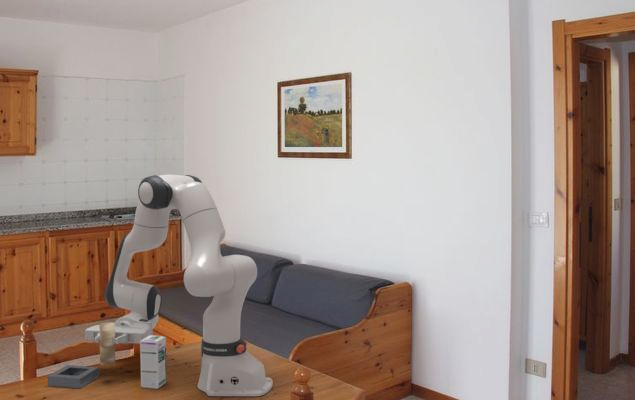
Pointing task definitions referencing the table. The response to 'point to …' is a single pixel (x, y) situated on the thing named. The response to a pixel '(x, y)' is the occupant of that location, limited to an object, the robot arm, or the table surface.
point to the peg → (107, 343)
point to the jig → (73, 376)
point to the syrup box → (153, 361)
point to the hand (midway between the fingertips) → (105, 340)
